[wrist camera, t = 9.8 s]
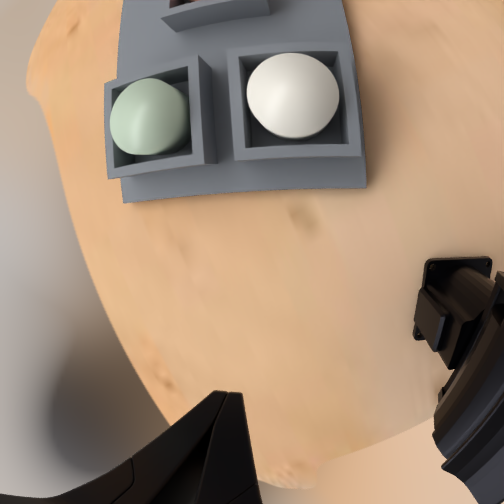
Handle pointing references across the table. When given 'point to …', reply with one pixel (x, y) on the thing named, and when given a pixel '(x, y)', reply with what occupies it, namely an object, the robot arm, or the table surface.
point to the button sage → (151, 118)
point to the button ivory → (293, 96)
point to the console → (234, 96)
